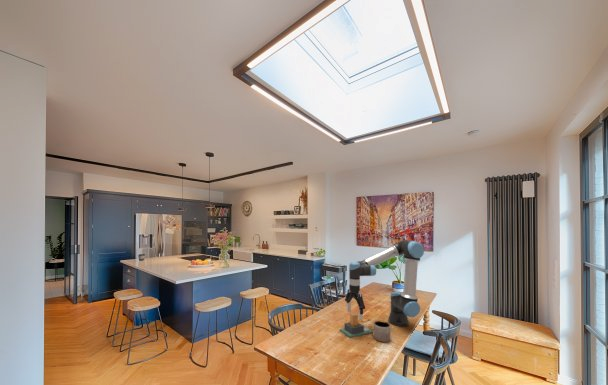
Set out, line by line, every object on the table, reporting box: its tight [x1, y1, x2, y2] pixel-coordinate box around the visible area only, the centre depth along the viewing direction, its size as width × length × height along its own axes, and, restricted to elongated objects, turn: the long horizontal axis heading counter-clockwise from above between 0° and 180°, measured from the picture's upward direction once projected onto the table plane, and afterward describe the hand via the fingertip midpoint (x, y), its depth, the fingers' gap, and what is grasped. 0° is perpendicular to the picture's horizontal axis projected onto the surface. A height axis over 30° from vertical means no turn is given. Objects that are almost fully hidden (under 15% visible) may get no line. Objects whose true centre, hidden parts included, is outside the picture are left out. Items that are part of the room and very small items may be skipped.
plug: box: [349, 313, 359, 327], centre depth 181 cm, size 4×3×10 cm, turn 116°
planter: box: [373, 320, 391, 343], centre depth 172 cm, size 11×11×10 cm
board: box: [339, 321, 374, 339], centre depth 181 cm, size 20×12×5 cm, turn 116°
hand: (354, 315), depth 181 cm, fingers open, 13 cm apart
